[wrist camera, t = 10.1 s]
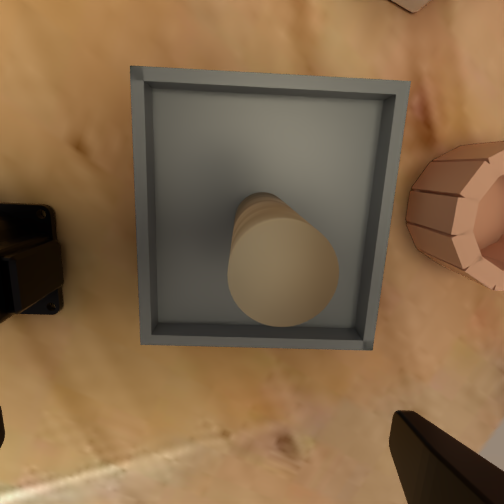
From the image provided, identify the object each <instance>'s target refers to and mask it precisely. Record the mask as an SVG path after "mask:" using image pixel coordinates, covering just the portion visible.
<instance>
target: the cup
mask: <svg viewBox="0 0 504 504" xmlns="http://www.w3.org/2000/svg"><path fill="white" fill-rule="evenodd" d="M412 189H413V190H412V191H410V195H409V201H408V208H407V214H406V220H407V221H408V222H407V223H406V224H407V227H408V229H409V232H410V234H411V236H412V239H413V241H414V244H415V246H416V248H418V250H419V251H421V252H422V253H423V254H425V255H426V256H428V257H429V258H431V259H432V260H434V261H435V262H437V263H438V264H440V265H442V266H444V267H446V268H448V269H450V270H452V271H454V272H457V273H459V274H461V275H463V276H465V277H467V278H469V279H471V280H473V281H475V282H477V283H479V284H481V285H483V286H485V287H487V288H489V289H491V290H495V291H504V141H500V142H490V143H480V144H470V145H464V146H459V147H457V148H455V149H453V150H452V151H450V152H448V153H446V154H444V155H442V156H440V157H438V158H436V159H434V160H433V162H430V163H429V164H428V166H427V167H426V169H425V170H424V171H423V173H422V174H421V175H420V177H419V178H418V180H417V181H416V182H415V184H414V185H413V186H412Z"/></svg>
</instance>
